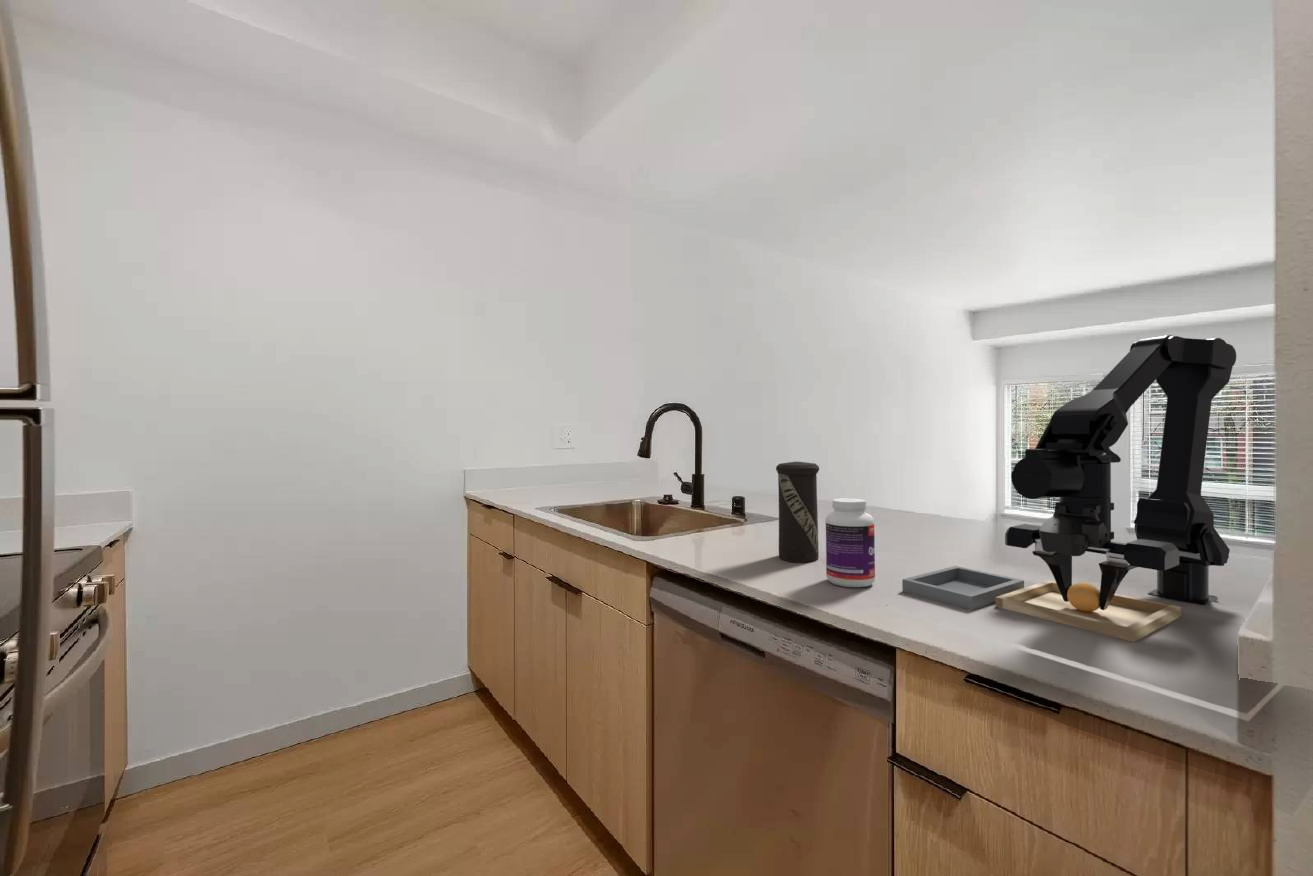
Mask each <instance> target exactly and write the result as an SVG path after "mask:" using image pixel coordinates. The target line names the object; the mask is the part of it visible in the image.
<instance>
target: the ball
mask: <svg viewBox="0 0 1313 876" xmlns="http://www.w3.org/2000/svg"><path fill="white" fill-rule="evenodd" d="M1099 590H1100V589H1099V588H1097V587H1096V586H1095V585H1094V584H1091V583H1089V582H1081V581H1080V582H1075V583H1074V584H1073V583H1072V586H1071V587H1070V588H1069V589H1068V592H1067V597H1068V600H1069V602H1070V603H1071V605H1072V606H1073V607H1075V608H1076V609H1078V610H1081V611H1085V612H1091V611H1095V610H1097V609H1099V608H1100V601H1099V598H1100V591H1099Z"/></svg>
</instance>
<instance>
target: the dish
mask: <svg viewBox="0 0 1313 876" xmlns="http://www.w3.org/2000/svg"><path fill="white" fill-rule="evenodd" d="M1099 591H1100V589H1099ZM994 604H995V607H996V608H1000V609H1005V610H1008V611H1011V612H1015V613H1019V614H1024V615H1028V616H1032V617H1035V618H1039V619H1043V620H1046V621H1050V622H1055V623H1058V624H1062V625H1066V626H1071V627H1073V628H1076V629H1077V628H1078V629H1081V630H1082V629H1083V630H1085V631H1089V632H1093V633H1097V634H1101V635H1105V636H1109V637H1112V638H1113V637H1114V638H1117V639H1121V640H1123V641H1128V642H1133V643H1134V642H1136V641H1138V640H1140V639H1142V638H1144V637H1145V636H1147V635H1149V634H1151V633H1153V632H1154V631H1157V630H1158V629H1161V628H1163V627H1165V626H1166V625H1168V624H1169V623H1172V622H1173V621H1175V620H1177V619H1179V618H1181V609H1182V607H1181V606H1178V605H1173V604H1167V603H1163V602H1160V601H1159V602H1158V601H1153V600H1148V599H1143V598H1138V597H1134V596H1129V595H1124V594H1123V595H1122V594H1119V593H1115V594H1114V596H1113V598H1112V600H1111V601H1110V603H1109V605H1108V607H1107V609H1105V610H1101V609H1100V608H1099V609H1097V610H1095V611H1091V612H1085V611H1081V610H1078V609H1076V608H1075V607H1073V606H1072V605H1071V603H1070V602H1069V601H1068V602H1065V601H1064V600H1063V598H1062V595H1061V593H1060V590H1059V588H1058V586H1057V583H1056V581H1055V580H1049V579H1047V580H1045V581H1040V582H1038V583H1035V584H1032V585H1029V586H1026V587H1025V586H1024V588H1022V589H1019V590H1016V591H1013V592H1010V593H1007V594H1004V595H1001V596H998V597H995V603H994Z"/></svg>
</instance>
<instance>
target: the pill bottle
mask: <svg viewBox="0 0 1313 876" xmlns="http://www.w3.org/2000/svg"><path fill="white" fill-rule="evenodd" d="M832 508H833V511H832V512H830V513H828V514H827V515H826V516H825V575H826V578H827V580H828V581H829V583H832V584H834V585H836V586H840V587H844V588H864V587H865V588H866V587H869V586H872V585H873V583H874V582H875V581H876V556H875V555H876V552H875V551H876V549H875V548H876V547H875V544H876V543H875V541H876V539H875V538H876V537H875V520H874V517H873V516H872V515H871V514H870V513H868V512H866V510H867V500H865V499H862V498H851V497H849V498H848V497H841V498H833V499H832Z"/></svg>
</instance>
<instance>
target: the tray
mask: <svg viewBox="0 0 1313 876" xmlns="http://www.w3.org/2000/svg"><path fill="white" fill-rule="evenodd" d="M901 584H902V588H901V589H902V590H901V591H902V592H904V593H908V594H911V595H915V596H919V597H921V598H922V597H923V598H926V599H928V600H932V601H936V602H941V603H944V604H947V605H951V606H954V607H957V608H962V609H966V610H969V611H974V610H976V609H980V608H981V607H982V608H983V607H986V606H988V605H991V604H995V597H998V596H1001V595H1004V594H1007V593H1010V592H1013V591H1016V590H1019V589H1022V588H1025V580H1024V579H1020V578H1014V577H1010V576H1005V575H1000V574H996V573H992V572H991V573H990V572H986V571H981V570H976V569H973V568H969V567H968V568H966V567H963V566H959V565H955V566H954V565H953V566H950V567H946V568H941V569H938V570H934V571H929V572H925V573H921V574H918V575H917V574H916V575H914V576H910V577H905V578H902V583H901Z"/></svg>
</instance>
